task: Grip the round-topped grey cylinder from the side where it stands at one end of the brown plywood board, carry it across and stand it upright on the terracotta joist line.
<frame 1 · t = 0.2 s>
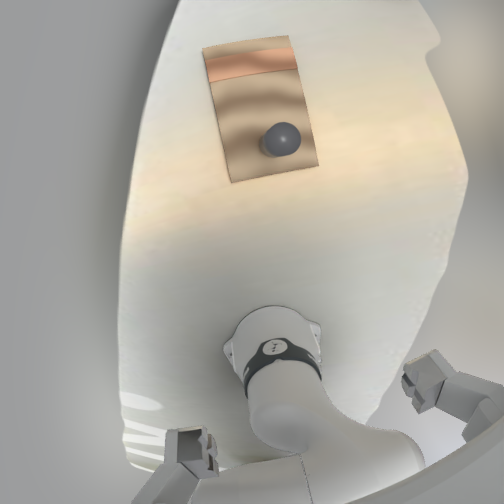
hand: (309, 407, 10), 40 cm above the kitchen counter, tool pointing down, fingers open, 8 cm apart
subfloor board: (260, 104, 43), on the kitchen counter
round-topped grey cylinder: (270, 145, 44), point 1 cm above the kitchen counter, touching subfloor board
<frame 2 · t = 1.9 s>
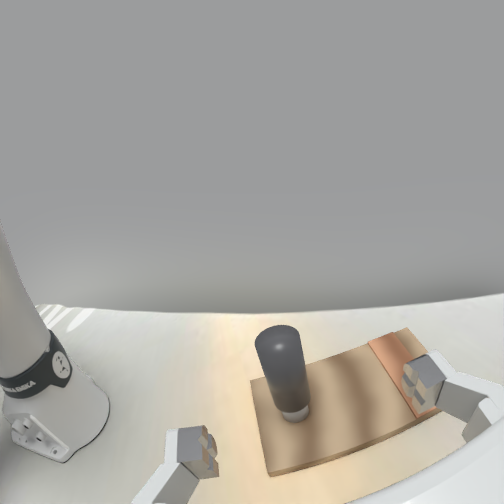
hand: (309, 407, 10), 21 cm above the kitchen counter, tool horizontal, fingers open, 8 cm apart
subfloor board: (353, 400, 31), on the kitchen counter
round-topped grey cylinder: (295, 412, 30), point 1 cm above the kitchen counter, touching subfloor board
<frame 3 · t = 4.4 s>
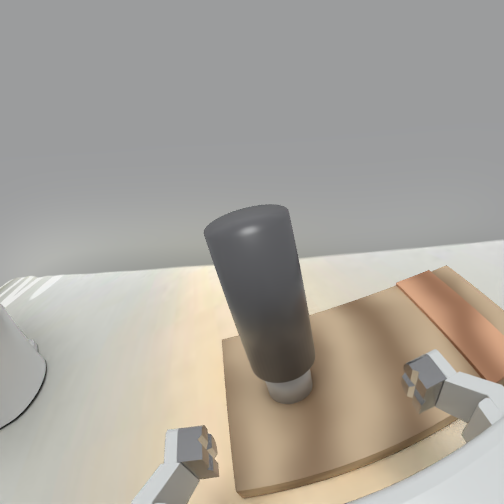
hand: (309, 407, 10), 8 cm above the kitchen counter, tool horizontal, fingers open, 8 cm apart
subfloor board: (383, 367, 19), on the kitchen counter
round-topped grey cylinder: (290, 386, 19), point 1 cm above the kitchen counter, touching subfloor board
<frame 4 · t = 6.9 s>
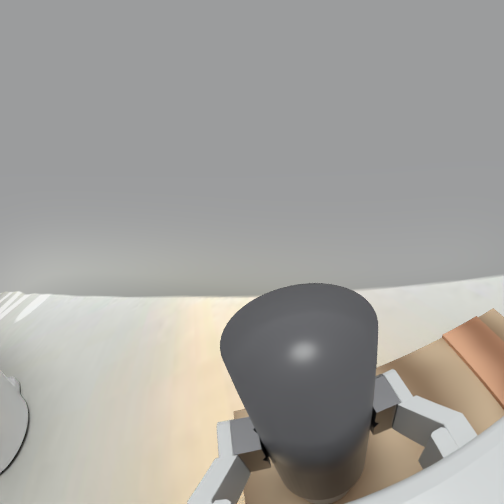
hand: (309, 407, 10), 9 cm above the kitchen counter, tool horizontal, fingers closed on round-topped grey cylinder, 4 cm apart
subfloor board: (430, 444, 13), on the kitchen counter
round-topped grey cylinder: (324, 481, 12), point 2 cm above the kitchen counter, touching gripper, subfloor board
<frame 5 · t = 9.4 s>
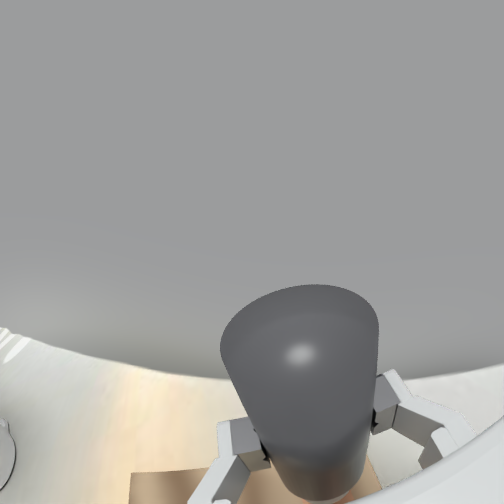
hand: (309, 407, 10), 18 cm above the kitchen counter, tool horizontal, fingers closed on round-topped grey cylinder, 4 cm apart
round-topped grey cylinder: (324, 482, 12), point 11 cm above the kitchen counter, touching gripper
when the fingers open (10 cm above the kitchen counter, at t = 12.1 s): round-topped grey cylinder stays where it is, resting on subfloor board.
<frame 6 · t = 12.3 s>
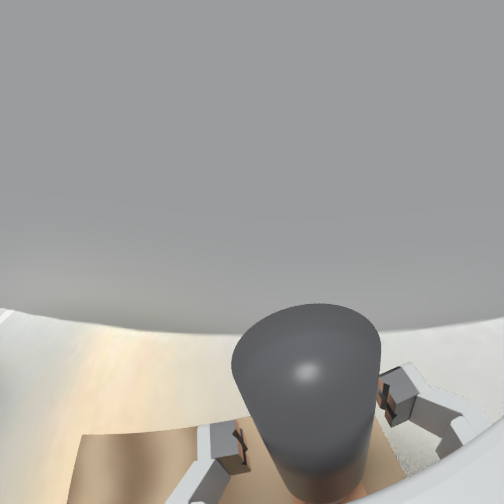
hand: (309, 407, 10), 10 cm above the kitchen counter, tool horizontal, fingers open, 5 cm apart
round-topped grey cylinder: (325, 485, 12), point 2 cm above the kitchen counter, touching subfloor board
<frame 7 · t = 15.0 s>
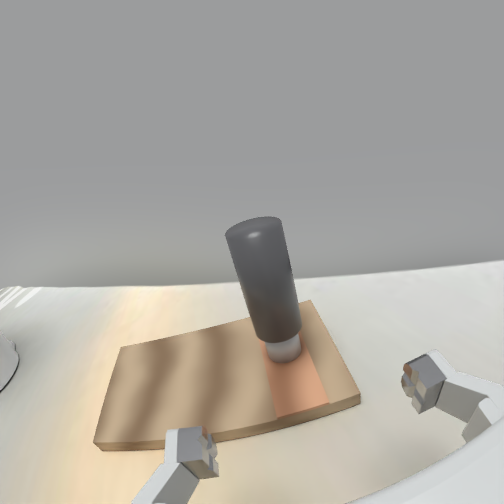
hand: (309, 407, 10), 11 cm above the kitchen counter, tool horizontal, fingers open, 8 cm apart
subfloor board: (216, 381, 26), on the kitchen counter
round-topped grey cylinder: (284, 351, 26), point 2 cm above the kitchen counter, touching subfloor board
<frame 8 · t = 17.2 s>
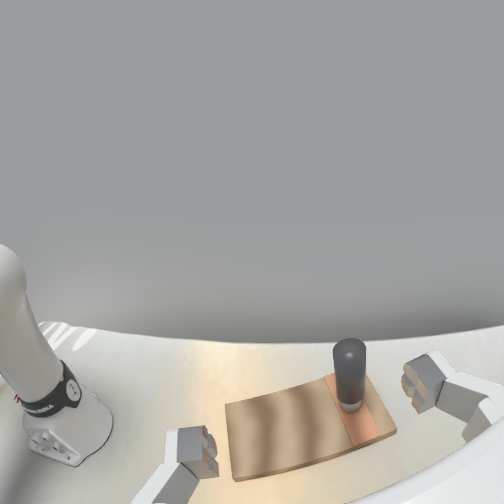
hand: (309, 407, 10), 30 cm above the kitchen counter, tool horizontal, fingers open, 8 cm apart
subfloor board: (306, 425, 38), on the kitchen counter
round-topped grey cylinder: (350, 404, 37), point 2 cm above the kitchen counter, touching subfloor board
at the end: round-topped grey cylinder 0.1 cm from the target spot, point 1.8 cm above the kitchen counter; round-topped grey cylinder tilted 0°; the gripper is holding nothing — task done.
